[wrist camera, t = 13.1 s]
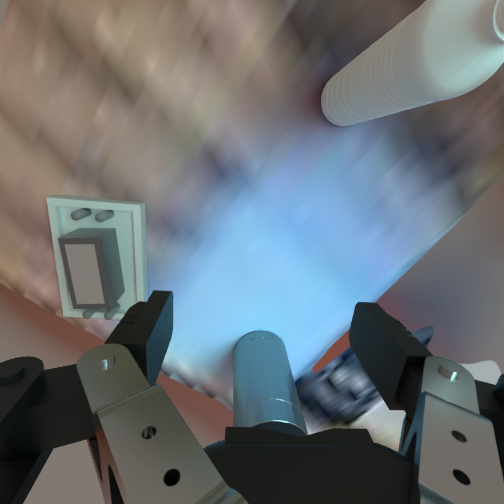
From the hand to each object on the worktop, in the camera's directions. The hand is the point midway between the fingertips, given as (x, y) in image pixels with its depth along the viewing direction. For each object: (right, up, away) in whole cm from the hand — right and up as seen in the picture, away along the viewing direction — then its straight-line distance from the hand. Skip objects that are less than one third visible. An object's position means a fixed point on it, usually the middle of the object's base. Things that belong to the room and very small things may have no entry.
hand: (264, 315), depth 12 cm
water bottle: (+12, +22, +25) cm, 36 cm away
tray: (-23, +2, +30) cm, 37 cm away
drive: (-22, +1, +29) cm, 37 cm away
